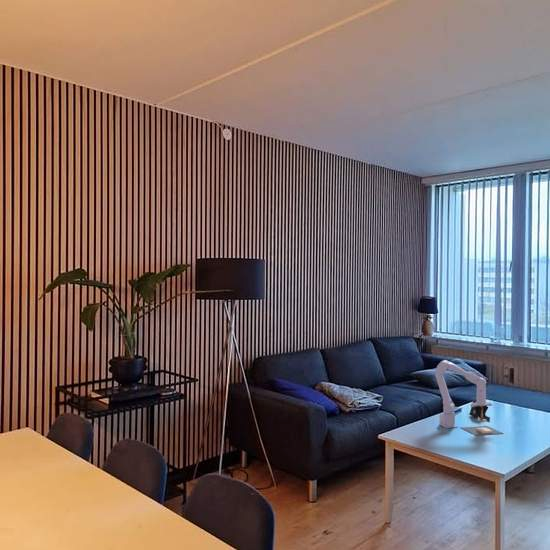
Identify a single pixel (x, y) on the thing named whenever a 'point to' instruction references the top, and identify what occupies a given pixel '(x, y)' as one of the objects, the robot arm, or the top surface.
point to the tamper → (481, 416)
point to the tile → (484, 430)
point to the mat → (477, 433)
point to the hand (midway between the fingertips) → (481, 417)
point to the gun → (474, 413)
